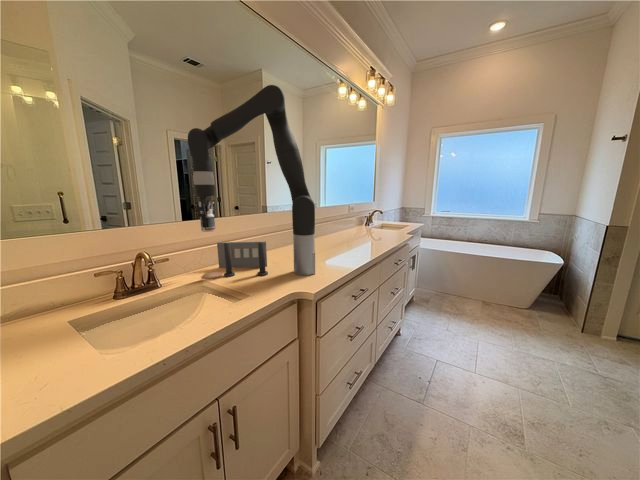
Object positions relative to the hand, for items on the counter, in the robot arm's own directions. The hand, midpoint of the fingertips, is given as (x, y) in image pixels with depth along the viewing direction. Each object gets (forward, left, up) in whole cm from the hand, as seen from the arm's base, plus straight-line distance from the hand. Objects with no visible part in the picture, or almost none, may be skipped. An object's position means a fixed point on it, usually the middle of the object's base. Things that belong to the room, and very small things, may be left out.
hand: (208, 226), depth 104 cm
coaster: (0, 0, -21) cm, 21 cm away
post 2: (-21, 0, -21) cm, 30 cm away
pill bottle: (0, 0, -2) cm, 2 cm away
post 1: (-7, 0, -21) cm, 22 cm away
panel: (-10, -11, -21) cm, 26 cm away
